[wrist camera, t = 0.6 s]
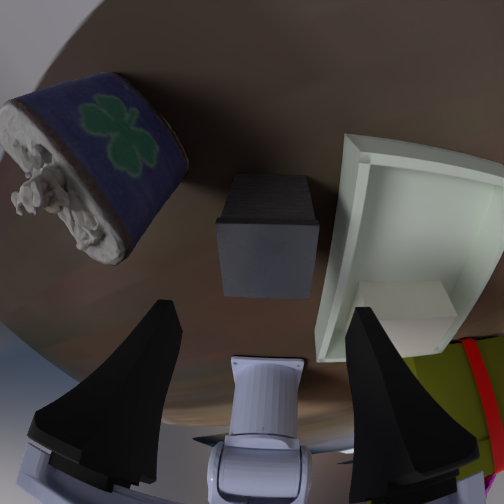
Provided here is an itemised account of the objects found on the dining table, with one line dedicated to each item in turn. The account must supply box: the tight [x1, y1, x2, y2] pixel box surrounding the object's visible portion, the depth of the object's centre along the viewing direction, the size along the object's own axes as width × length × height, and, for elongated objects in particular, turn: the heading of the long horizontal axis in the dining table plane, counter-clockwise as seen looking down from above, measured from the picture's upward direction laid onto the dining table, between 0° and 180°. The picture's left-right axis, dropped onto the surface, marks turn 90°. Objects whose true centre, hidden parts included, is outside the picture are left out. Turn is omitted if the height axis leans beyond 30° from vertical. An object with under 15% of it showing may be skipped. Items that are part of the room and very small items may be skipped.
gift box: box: [367, 336, 504, 504], centre depth 22 cm, size 21×21×25 cm
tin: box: [215, 174, 320, 299], centre depth 16 cm, size 5×5×6 cm
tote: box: [315, 134, 504, 362], centre depth 19 cm, size 18×13×4 cm
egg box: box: [346, 281, 457, 355], centre depth 21 cm, size 5×8×4 cm, turn 92°
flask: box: [0, 72, 189, 266], centre depth 11 cm, size 9×3×11 cm, turn 33°
